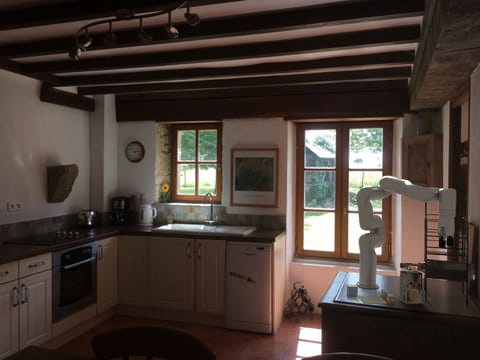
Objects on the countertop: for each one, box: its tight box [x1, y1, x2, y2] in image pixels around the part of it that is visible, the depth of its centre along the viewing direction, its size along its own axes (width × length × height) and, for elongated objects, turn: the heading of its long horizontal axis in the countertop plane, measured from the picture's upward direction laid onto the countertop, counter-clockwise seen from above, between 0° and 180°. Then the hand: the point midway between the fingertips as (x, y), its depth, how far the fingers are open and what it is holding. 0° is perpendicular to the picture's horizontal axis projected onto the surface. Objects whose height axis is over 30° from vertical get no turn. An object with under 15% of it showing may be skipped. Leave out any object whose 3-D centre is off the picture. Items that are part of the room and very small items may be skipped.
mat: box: [357, 295, 388, 305], centre depth 199 cm, size 11×12×1 cm
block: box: [345, 284, 359, 298], centre depth 205 cm, size 4×5×6 cm
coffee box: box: [399, 269, 423, 305], centre depth 197 cm, size 9×6×16 cm
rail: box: [381, 289, 395, 305], centre depth 198 cm, size 12×2×4 cm, turn 179°
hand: (446, 246), depth 189 cm, fingers open, 9 cm apart
